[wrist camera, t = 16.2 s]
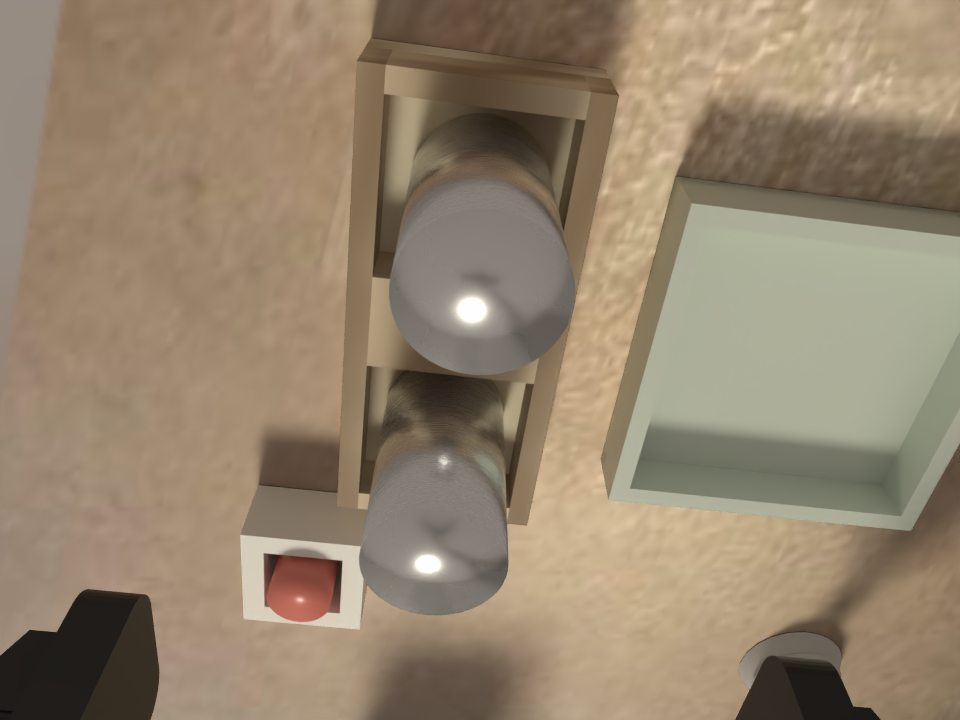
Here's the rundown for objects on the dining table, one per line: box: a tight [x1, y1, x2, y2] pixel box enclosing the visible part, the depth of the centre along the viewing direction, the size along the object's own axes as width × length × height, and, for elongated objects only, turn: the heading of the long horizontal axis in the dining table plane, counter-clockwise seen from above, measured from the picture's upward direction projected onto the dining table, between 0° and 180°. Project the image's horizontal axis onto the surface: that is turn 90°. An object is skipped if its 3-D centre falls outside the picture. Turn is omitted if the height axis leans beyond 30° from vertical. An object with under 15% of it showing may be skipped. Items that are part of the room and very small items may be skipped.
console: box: [240, 485, 367, 629], centre depth 35 cm, size 5×5×3 cm
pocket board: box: [337, 38, 619, 526], centre depth 28 cm, size 7×17×3 cm, turn 173°
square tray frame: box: [601, 176, 960, 531], centre depth 30 cm, size 12×12×2 cm
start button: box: [267, 555, 340, 622], centre depth 34 cm, size 3×3×2 cm
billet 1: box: [389, 113, 575, 375], centre depth 23 cm, size 4×4×8 cm
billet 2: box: [359, 370, 508, 615], centre depth 28 cm, size 4×4×8 cm
